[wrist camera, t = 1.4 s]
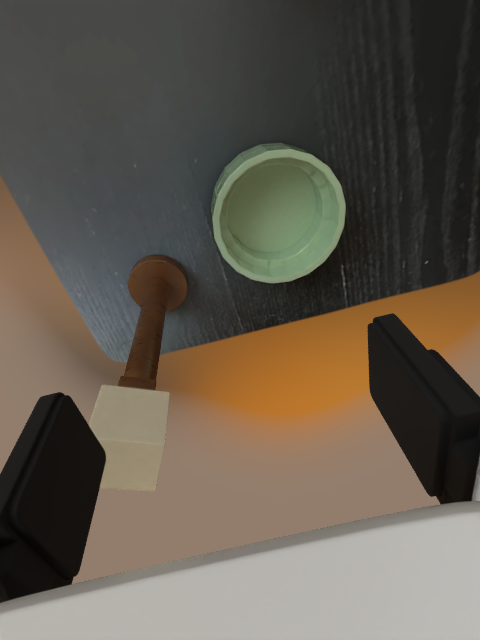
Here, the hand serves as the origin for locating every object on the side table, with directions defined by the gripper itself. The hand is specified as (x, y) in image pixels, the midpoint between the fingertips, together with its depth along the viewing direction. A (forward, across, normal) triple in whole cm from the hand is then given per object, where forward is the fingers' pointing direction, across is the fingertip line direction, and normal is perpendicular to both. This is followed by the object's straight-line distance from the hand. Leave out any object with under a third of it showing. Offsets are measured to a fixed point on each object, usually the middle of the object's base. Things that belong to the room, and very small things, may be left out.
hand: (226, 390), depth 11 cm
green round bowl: (+28, -6, +3) cm, 28 cm away
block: (+9, +7, +8) cm, 14 cm away
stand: (+28, +7, +8) cm, 30 cm away
